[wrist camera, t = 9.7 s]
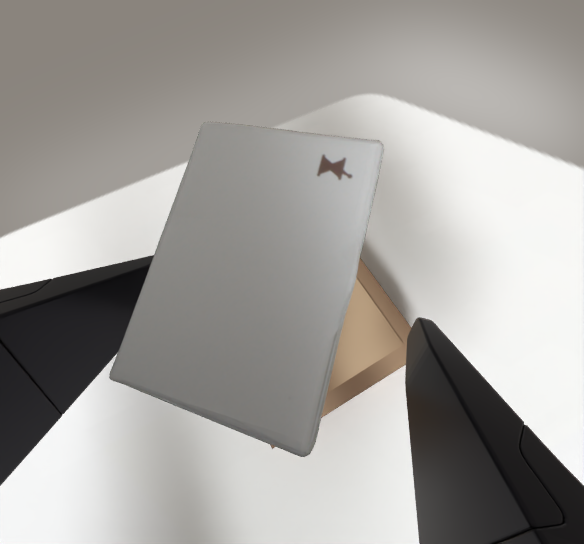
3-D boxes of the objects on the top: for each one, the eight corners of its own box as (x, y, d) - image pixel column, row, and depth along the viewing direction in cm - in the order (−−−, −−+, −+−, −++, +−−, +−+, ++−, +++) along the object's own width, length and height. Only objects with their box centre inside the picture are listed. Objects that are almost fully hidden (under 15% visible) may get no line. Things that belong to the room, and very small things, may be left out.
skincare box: (286, 255, 17) (201, 108, 6) (347, 270, 16) (395, 132, 5) (261, 343, 16) (93, 383, 5) (326, 363, 15) (319, 472, 4)
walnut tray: (281, 429, 18) (271, 449, 15) (214, 298, 21) (194, 294, 18) (411, 346, 18) (428, 350, 15) (326, 228, 21) (326, 210, 18)
